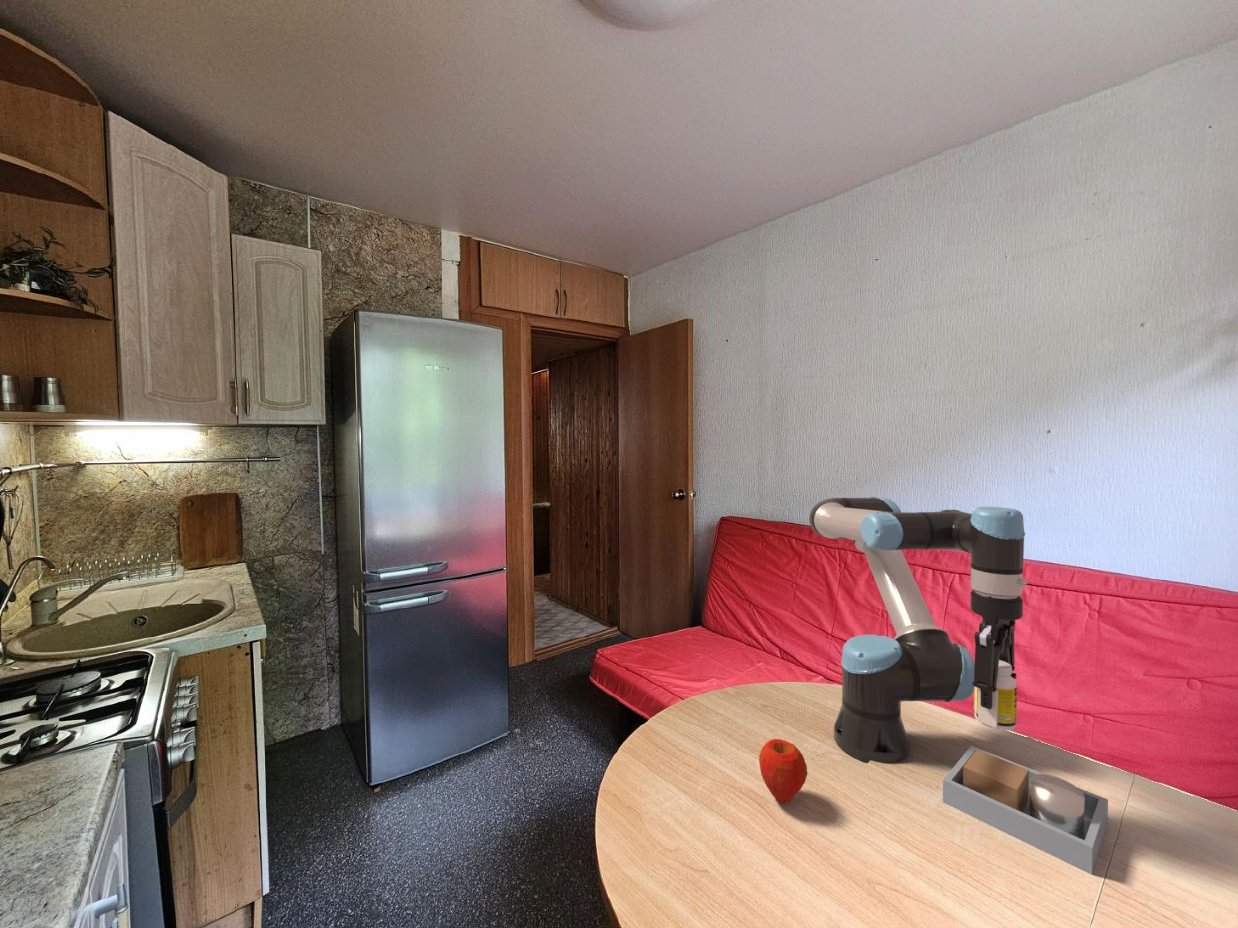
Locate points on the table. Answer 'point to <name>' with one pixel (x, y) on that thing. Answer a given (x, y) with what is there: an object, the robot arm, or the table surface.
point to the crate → (1031, 819)
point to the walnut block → (997, 779)
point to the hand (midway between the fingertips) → (994, 716)
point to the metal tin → (1057, 804)
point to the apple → (782, 769)
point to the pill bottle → (1003, 698)
